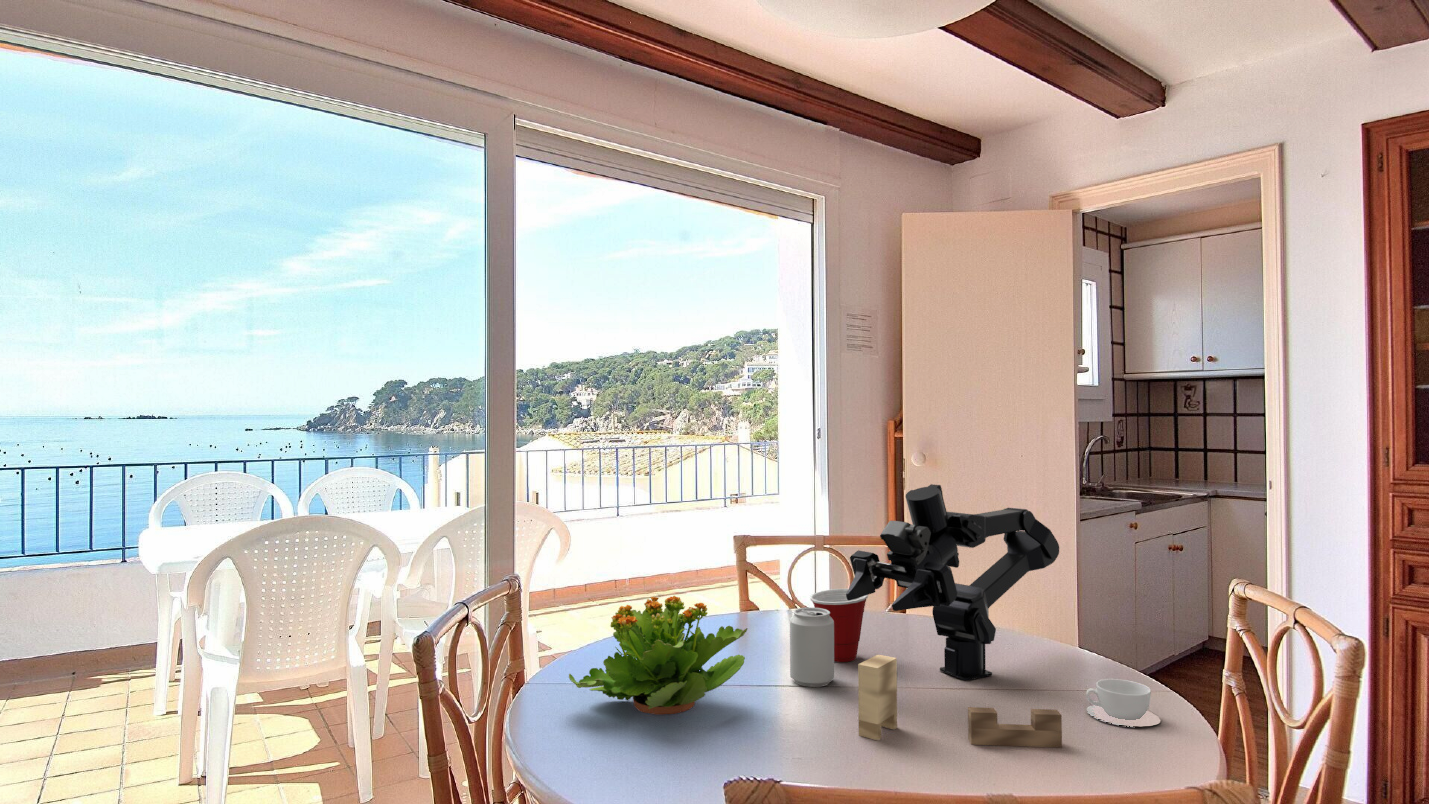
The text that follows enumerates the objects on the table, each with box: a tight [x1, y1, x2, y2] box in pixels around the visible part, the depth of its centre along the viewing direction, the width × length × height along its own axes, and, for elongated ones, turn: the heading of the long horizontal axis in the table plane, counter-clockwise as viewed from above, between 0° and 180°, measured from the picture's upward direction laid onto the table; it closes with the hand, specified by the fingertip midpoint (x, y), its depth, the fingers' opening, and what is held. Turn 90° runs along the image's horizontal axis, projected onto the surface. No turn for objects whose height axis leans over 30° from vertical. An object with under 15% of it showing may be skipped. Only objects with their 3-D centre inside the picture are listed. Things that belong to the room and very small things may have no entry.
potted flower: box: [568, 595, 748, 716], centre depth 130 cm, size 25×24×18 cm
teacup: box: [1085, 678, 1152, 728], centre depth 124 cm, size 10×10×5 cm
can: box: [789, 607, 835, 688], centre depth 141 cm, size 8×8×12 cm
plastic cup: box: [809, 588, 869, 663], centre depth 154 cm, size 11×11×12 cm
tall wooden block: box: [857, 654, 898, 741], centre depth 118 cm, size 6×3×10 cm, turn 142°
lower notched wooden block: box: [967, 706, 1063, 748], centre depth 114 cm, size 12×2×4 cm, turn 85°
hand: (869, 602), depth 128 cm, fingers open, 9 cm apart
